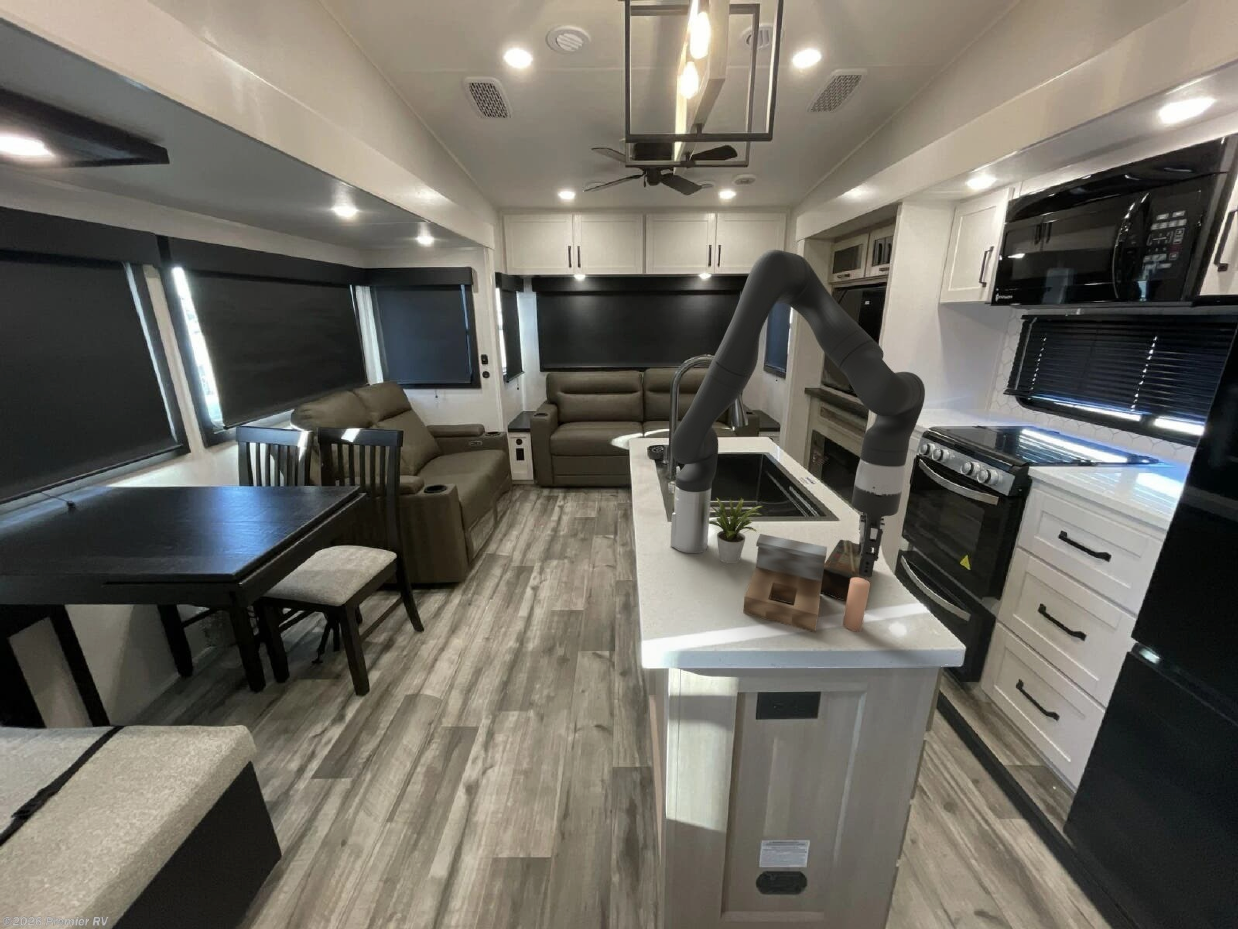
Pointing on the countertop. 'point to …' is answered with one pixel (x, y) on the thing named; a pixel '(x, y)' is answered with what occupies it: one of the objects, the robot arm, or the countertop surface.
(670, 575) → the countertop surface
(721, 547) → the house plant
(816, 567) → the socket station
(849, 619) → the peg
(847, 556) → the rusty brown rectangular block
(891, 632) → the countertop surface
